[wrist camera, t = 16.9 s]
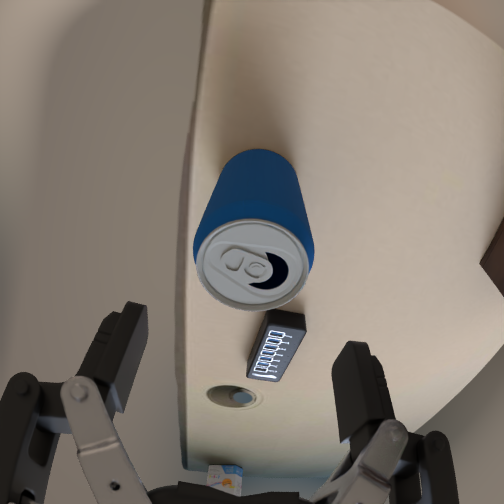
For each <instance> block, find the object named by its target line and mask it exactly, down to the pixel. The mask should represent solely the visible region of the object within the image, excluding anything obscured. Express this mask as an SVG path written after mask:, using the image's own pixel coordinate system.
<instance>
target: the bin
mask: <svg viewBox="0 0 504 504" xmlns="http://www.w3.org/2000/svg"><path fill="white" fill-rule="evenodd" d="M480 265H481V267H482V268H483V269H484V271H485V272H486V273H487V275H488V276H489V277H490V279H491V280H492V281H493V283H494V284H495V285H496V287H497V288H498V290H499V291H500V292H501V294H502V295H503V297H504V219H503V221H502V223H501V225H500V227H499V229H498V231H497V233H496V235H495V237H494V239H493V240H492V242H491V244H490V246H489V248H488V250H487V252H486V253H485V255H484V257H483V259H482V260H481V262H480Z"/></svg>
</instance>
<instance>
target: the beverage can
mask: <svg viewBox="0 0 504 504" xmlns="http://www.w3.org/2000/svg"><path fill="white" fill-rule="evenodd" d="M193 256H194V261H195V264H196V269H197V274H198V277H199V280H200V282H201V284H202V285H203V287H204V288H205V290H206V291H207V292H208V293H209V294H210V295H211V296H212V297H214V298H215V299H216V300H218V301H219V302H221V303H223V304H225V305H227V306H229V307H232V308H235V309H239V310H244V311H266V310H270V309H274V308H277V307H280V306H282V305H284V304H286V303H288V302H289V301H291V300H292V299H293V298H295V297H296V296H297V295H298V294H299V292H300V291H301V290H302V289H303V287H304V285H305V283H306V281H307V278H308V274H309V272H310V270H311V268H312V265H313V260H314V243H313V238H312V234H311V230H310V226H309V222H308V218H307V213H306V209H305V205H304V201H303V198H302V194H301V190H300V186H299V182H298V178H297V175H296V173H295V170H294V169H293V167H292V165H291V164H290V163H289V162H288V161H287V160H286V159H285V158H284V157H282V156H281V155H279V154H277V153H275V152H272V151H269V150H264V149H253V150H247V151H244V152H242V153H239V154H238V155H236V156H234V157H233V158H232V159H231V160H230V161H229V162H228V163H227V164H226V165H225V167H224V168H223V170H222V172H221V174H220V177H219V179H218V181H217V184H216V186H215V188H214V191H213V193H212V195H211V198H210V200H209V203H208V205H207V207H206V210H205V212H204V215H203V217H202V220H201V222H200V225H199V227H198V229H197V232H196V235H195V238H194V243H193Z"/></svg>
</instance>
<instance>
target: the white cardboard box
mask: <svg viewBox="0 0 504 504" xmlns="http://www.w3.org/2000/svg"><path fill="white" fill-rule="evenodd" d="M242 472H243V469H241V468H240V467H238V466H237V465H209V470H208V478H207V485H206V486H210V487H213V488H215V489H218V490H221V491H224V492H227V493H230V494H233V495H236V496H240V495H241V483H242Z"/></svg>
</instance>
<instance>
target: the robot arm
mask: <svg viewBox="0 0 504 504" xmlns="http://www.w3.org/2000/svg"><path fill="white" fill-rule="evenodd" d="M147 315H148V314H147V306H146V305H142V304H138V303H134V302H130V301H128V302H127V303H126V305H125V307H124V309H123V311H122V313H118V312H114V311H113V312H112V313H110V314H109V315H108V316H107V317H106V318H105V319H103V321H102V323H101V325H100V327H99V329H98V332H97V333H96V335H95V338H94V341H92V343H91V345H90V347H89V350H88V352H87V354H86V356H85V358H84V361H83V363H82V364H81V367H80V369H79V371H78V372H77V374H76V375H75V376H74V377H71V378H69V379H68V380H67V381H66V382H62V383H50V382H38V380H37V378H36V377H35V376H33V375H32V374H30V373H27V372H21V373H17V374H16V375H14V376H13V377H12V378H11V379H10V380H9V382H8V384H7V387H6V389H5V391H4V393H3V396H2V398H1V401H0V504H44V499H45V494H46V489H47V484H48V479H49V475H50V471H51V467H52V463H53V459H54V455H55V451H56V448H57V444H58V440H59V437H60V434H61V433H65V434H72V435H73V437H74V440H75V443H76V446H77V449H78V451H77V456H78V459H79V462H80V465H81V467H82V470H83V472H84V474H85V477H86V479H87V481H88V484H89V486H90V488H91V490H92V492H93V494H94V496H95V499H96V500H97V503H98V504H384V502H385V500H386V499H387V497H388V495H389V502H390V504H459V499H458V491H457V484H456V477H455V471H454V465H453V460H452V455H451V450H450V445H449V441H448V439H447V437H446V436H445V435H444V434H443V433H442V432H439V431H432V432H430V433H428V434H427V435H426V436H423V435H418V434H414V433H411V432H408V431H407V429H406V427H405V426H404V425H403V424H402V423H401V422H400V421H398V420H396V418H395V415H394V410H393V406H392V402H391V398H390V394H389V390H388V387H387V382H386V378H385V375H384V371H383V367H382V365H381V363H380V362H379V360H378V359H377V358H376V356H373V355H371V354H370V350H369V346H368V344H367V343H366V342H357V341H348V342H347V343H346V345H345V346H344V348H343V349H342V351H341V352H340V354H339V356H338V357H337V359H336V360H335V362H334V364H333V367H332V382H333V389H334V396H335V404H336V412H337V420H338V428H339V437H340V443H350V449H349V450H348V451H347V453H346V454H345V456H344V457H343V459H342V460H341V461H340V463H339V464H338V466H337V467H336V469H335V470H334V472H333V473H332V474H331V476H330V477H329V479H328V480H327V481H326V482H325V484H324V485H323V486H322V487H321V488H319V489H318V490H317V491H316V492H315V493H314V495H312V497H311V498H310V499H309V500H307V499H304V498H301V497H299V492H267V493H261V494H255V495H249V496H236V495H233V494H230V493H227V492H224V491H221V490H218V489H215V488H213V487H210V486H205V485H198V484H192V483H186V482H181V481H179V482H178V485H171V486H164V487H160V488H156V489H153V490H151V491H149V492H147V490H146V488H145V486H144V485H143V483H142V481H141V479H140V477H139V476H138V474H137V472H136V470H135V468H134V466H133V465H132V463H131V461H130V459H129V457H128V455H127V453H126V451H125V449H124V446H123V444H122V442H121V440H120V438H119V436H118V433H117V431H116V429H115V427H114V424H113V422H112V421H113V418H114V415H115V412H116V411H117V412H120V413H124V410H125V406H126V404H127V400H128V397H129V394H130V391H131V388H132V385H133V382H134V379H135V375H136V373H137V370H138V367H139V364H140V361H141V358H142V355H143V352H144V350H145V347H146V344H147V339H148V316H147ZM419 473H420V477H421V485H422V497H421V488H420V479H419Z"/></svg>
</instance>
